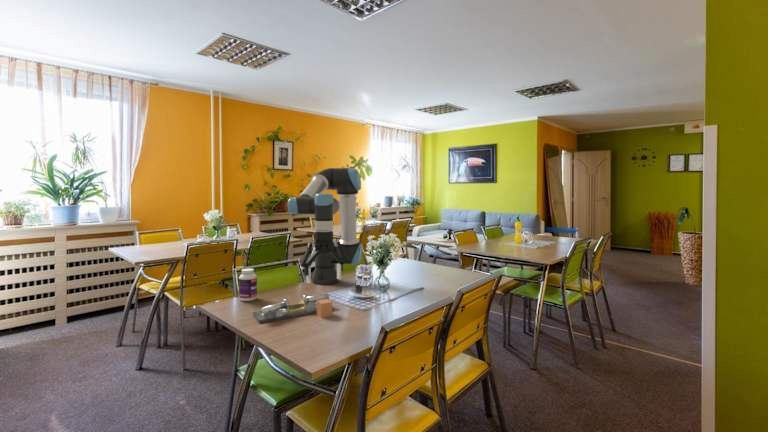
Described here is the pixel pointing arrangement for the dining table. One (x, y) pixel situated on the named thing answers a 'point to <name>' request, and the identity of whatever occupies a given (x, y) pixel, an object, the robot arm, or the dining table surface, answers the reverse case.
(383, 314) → the dining table surface
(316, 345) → the dining table surface
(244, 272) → the pill bottle
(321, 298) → the shaft
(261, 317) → the board
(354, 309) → the dining table surface
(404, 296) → the dining table surface
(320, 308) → the block
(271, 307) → the shaft
